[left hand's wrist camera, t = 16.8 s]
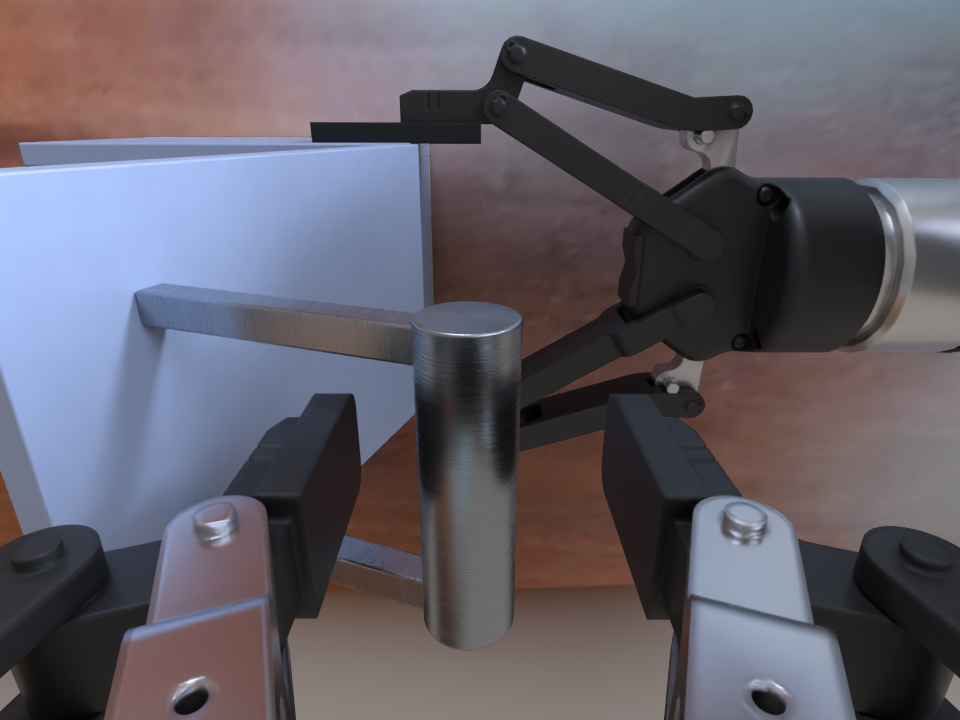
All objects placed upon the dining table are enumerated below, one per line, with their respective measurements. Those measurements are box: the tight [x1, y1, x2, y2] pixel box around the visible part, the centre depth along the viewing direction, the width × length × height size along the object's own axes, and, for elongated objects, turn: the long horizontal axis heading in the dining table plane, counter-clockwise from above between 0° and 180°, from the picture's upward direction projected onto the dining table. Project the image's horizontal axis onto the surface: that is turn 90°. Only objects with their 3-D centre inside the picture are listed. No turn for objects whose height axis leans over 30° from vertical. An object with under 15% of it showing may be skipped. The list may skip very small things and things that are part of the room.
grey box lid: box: [0, 144, 523, 651], centre depth 15 cm, size 15×10×8 cm
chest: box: [19, 137, 434, 308], centre depth 28 cm, size 14×10×9 cm
